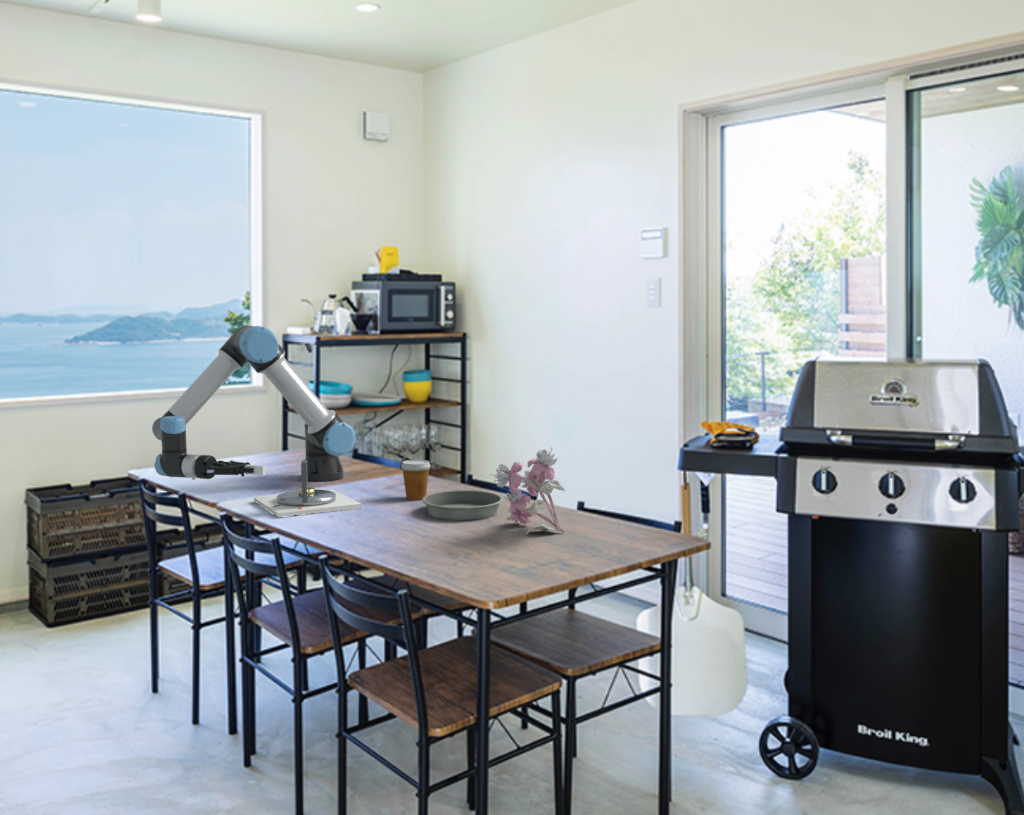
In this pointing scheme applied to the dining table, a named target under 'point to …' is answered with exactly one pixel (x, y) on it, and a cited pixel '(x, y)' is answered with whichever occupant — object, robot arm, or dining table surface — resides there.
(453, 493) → the cake pan
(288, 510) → the dial board
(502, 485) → the flower
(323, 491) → the dial
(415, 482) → the disposable coffee cup
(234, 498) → the dining table surface
